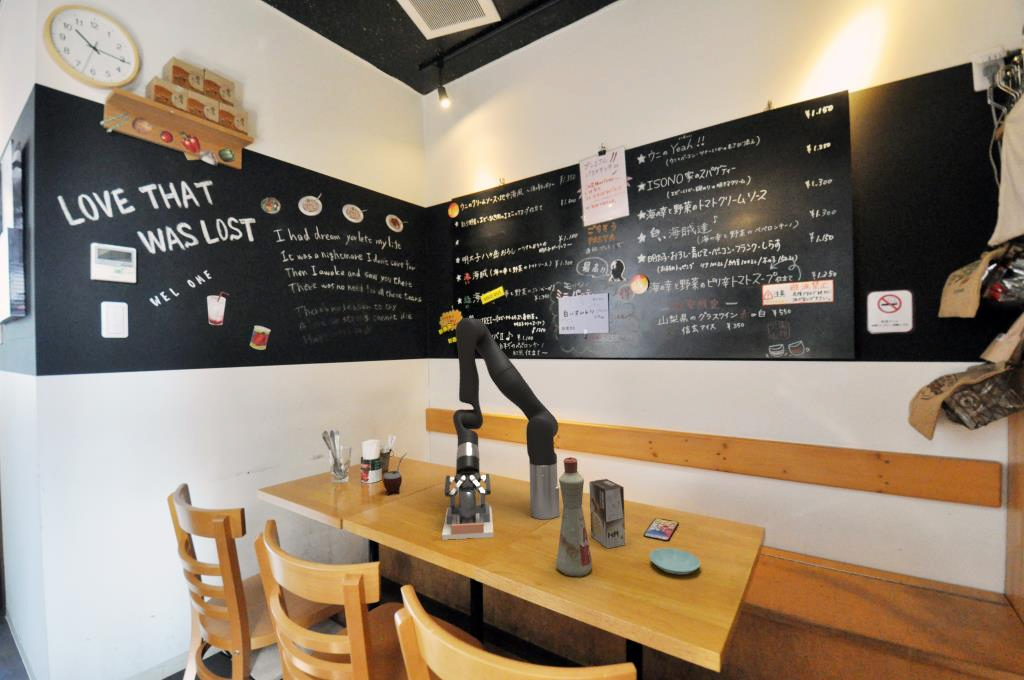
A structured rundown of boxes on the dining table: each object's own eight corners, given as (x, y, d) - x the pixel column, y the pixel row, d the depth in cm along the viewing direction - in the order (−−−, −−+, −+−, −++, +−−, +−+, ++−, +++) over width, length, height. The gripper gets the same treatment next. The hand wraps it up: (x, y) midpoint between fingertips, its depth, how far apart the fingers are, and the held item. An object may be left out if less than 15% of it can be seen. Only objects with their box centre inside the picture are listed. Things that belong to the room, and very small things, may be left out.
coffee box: (626, 545, 123) (625, 487, 123) (606, 549, 121) (605, 490, 121) (608, 532, 132) (606, 478, 132) (589, 536, 129) (588, 481, 130)
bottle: (553, 561, 114) (550, 453, 115) (587, 559, 115) (585, 451, 116) (559, 579, 106) (556, 461, 106) (596, 576, 106) (593, 460, 107)
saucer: (704, 564, 112) (704, 555, 112) (693, 585, 102) (693, 575, 102) (657, 552, 118) (657, 544, 118) (643, 571, 109) (643, 562, 109)
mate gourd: (379, 495, 171) (379, 456, 171) (392, 488, 178) (392, 451, 178) (395, 497, 168) (394, 457, 168) (407, 490, 175) (407, 452, 175)
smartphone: (642, 535, 128) (655, 517, 141) (642, 538, 128) (655, 520, 141) (668, 540, 124) (679, 521, 137) (668, 544, 124) (679, 524, 137)
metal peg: (476, 523, 136) (475, 488, 137) (476, 530, 131) (475, 493, 132) (460, 524, 136) (459, 488, 136) (459, 531, 131) (458, 494, 131)
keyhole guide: (491, 510, 152) (491, 498, 152) (493, 537, 130) (493, 523, 130) (447, 512, 151) (447, 500, 151) (441, 540, 129) (441, 526, 129)
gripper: (445, 455, 142) (443, 503, 130) (489, 453, 143) (491, 500, 131) (446, 467, 147) (444, 514, 136) (489, 465, 148) (491, 512, 137)
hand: (467, 507), depth 134 cm, fingers open, 8 cm apart
